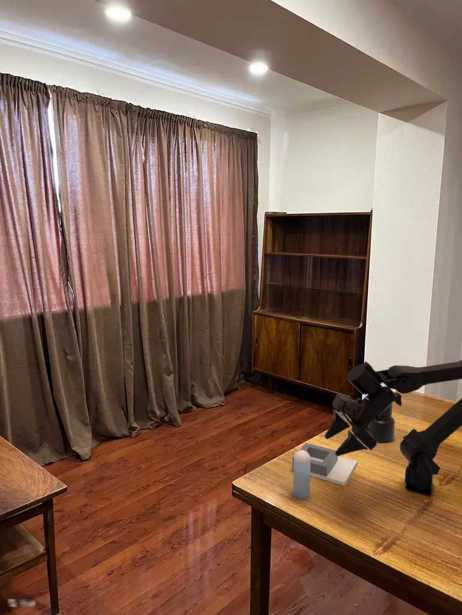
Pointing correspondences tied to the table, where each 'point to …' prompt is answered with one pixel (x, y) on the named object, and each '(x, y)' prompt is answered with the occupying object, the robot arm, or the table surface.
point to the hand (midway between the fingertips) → (330, 446)
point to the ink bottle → (383, 426)
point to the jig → (328, 464)
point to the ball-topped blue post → (301, 475)
